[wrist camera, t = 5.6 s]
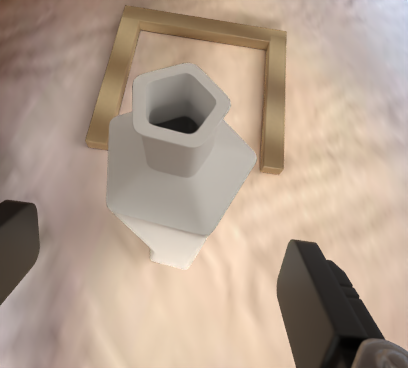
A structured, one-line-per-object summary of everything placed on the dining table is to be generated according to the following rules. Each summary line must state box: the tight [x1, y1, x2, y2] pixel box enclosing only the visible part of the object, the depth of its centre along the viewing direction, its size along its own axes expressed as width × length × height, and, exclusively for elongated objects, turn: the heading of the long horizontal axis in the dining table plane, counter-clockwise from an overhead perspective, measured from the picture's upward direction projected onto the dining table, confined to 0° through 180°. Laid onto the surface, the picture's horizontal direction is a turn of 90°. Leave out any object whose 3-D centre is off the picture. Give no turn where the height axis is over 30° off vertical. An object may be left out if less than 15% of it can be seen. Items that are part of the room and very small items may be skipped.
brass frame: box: [85, 5, 287, 174], centre depth 25 cm, size 13×14×1 cm
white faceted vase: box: [106, 63, 257, 270], centre depth 14 cm, size 5×4×15 cm
